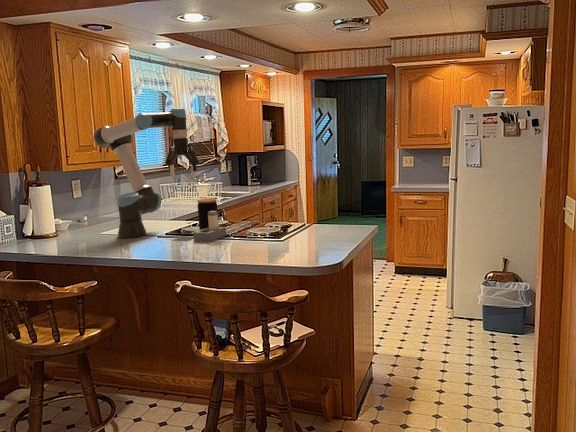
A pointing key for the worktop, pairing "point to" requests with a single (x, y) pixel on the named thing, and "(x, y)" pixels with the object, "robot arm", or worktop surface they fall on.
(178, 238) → the deck mat
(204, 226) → the coffee jar
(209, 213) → the plug
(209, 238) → the socket box
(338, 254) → the worktop surface
